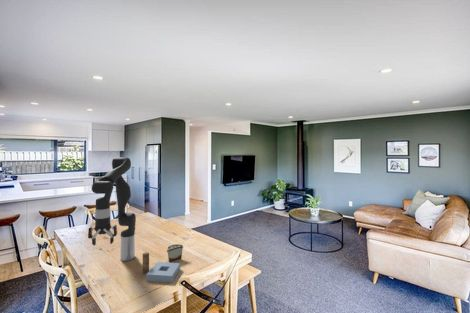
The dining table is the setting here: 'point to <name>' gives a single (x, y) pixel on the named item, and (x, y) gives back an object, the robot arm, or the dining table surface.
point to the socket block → (163, 272)
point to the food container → (174, 252)
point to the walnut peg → (145, 263)
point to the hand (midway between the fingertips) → (103, 244)
